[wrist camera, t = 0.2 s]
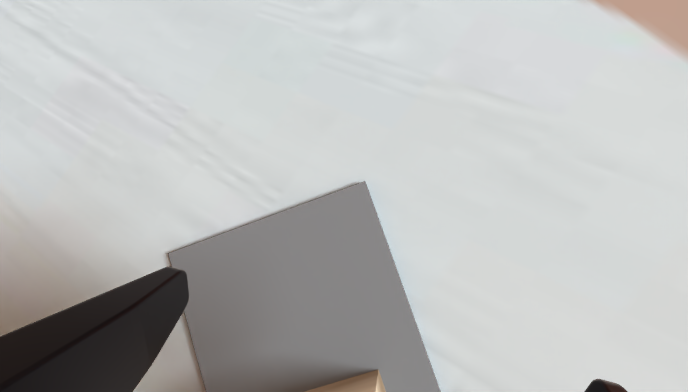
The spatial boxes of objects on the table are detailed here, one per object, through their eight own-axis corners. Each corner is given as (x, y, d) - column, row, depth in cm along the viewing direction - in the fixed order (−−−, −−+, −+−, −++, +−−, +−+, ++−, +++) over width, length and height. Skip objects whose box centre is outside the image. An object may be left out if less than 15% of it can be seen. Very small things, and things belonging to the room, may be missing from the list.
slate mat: (457, 437, 21) (458, 444, 20) (241, 496, 22) (236, 503, 22) (365, 182, 23) (364, 181, 22) (173, 252, 24) (168, 253, 24)
